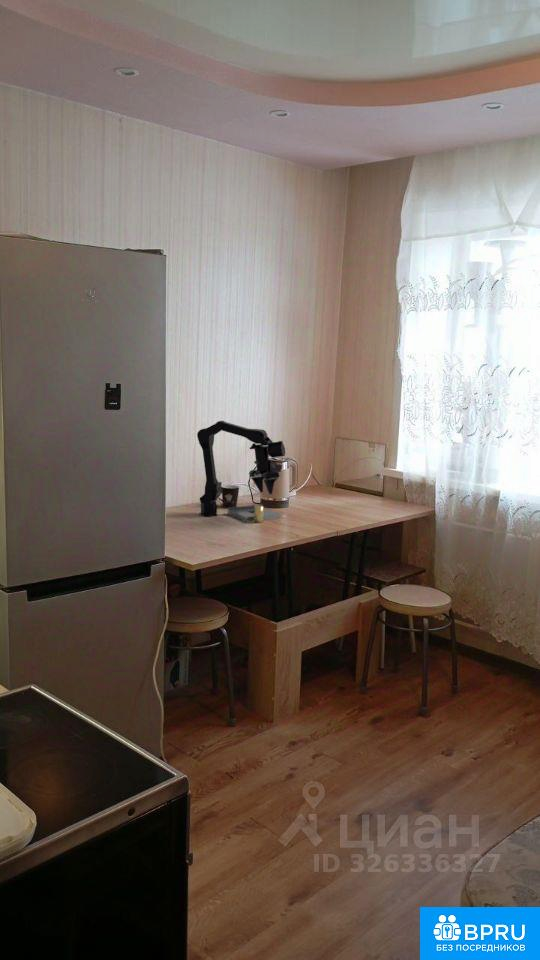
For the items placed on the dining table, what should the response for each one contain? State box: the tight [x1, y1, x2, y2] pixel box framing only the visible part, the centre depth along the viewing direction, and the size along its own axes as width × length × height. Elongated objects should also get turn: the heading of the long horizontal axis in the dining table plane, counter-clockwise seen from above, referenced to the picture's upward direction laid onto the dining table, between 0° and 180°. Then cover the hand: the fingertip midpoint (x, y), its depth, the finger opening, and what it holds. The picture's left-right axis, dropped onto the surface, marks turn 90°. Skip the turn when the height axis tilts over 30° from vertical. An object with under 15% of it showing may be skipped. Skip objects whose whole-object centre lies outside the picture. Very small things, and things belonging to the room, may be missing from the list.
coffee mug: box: [217, 484, 240, 509], centre depth 374 cm, size 12×9×10 cm
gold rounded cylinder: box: [253, 505, 265, 524], centre depth 345 cm, size 4×4×7 cm
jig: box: [227, 504, 281, 523], centre depth 356 cm, size 18×16×3 cm
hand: (266, 493), depth 346 cm, fingers open, 9 cm apart
